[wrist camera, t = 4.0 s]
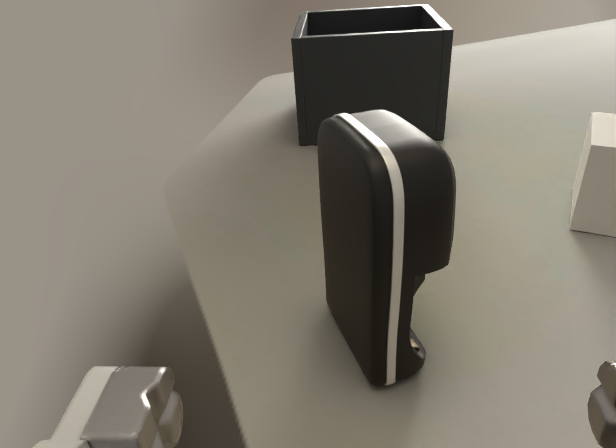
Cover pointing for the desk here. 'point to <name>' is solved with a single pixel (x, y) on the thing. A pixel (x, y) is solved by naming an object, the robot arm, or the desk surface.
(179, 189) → the desk surface
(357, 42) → the trash bin
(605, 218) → the white cube
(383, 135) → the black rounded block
